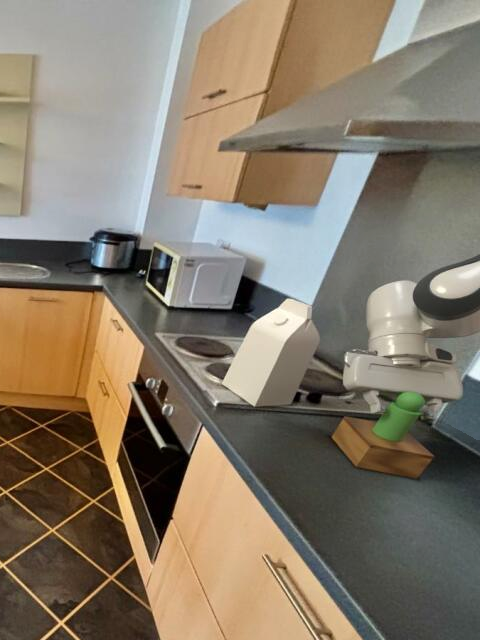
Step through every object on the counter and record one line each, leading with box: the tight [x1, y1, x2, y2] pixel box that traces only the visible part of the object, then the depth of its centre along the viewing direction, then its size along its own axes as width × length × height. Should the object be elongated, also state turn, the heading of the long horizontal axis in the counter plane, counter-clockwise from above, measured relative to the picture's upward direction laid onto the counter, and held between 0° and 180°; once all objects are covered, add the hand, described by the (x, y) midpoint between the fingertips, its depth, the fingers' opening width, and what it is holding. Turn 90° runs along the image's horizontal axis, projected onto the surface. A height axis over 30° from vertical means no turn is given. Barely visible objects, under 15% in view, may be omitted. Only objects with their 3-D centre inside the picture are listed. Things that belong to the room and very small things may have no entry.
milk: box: [221, 298, 321, 408], centre depth 107 cm, size 12×12×26 cm
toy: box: [372, 392, 425, 442], centre depth 86 cm, size 5×5×10 cm
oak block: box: [331, 416, 435, 479], centre depth 90 cm, size 11×11×6 cm
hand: (403, 416), depth 85 cm, fingers open, 8 cm apart
